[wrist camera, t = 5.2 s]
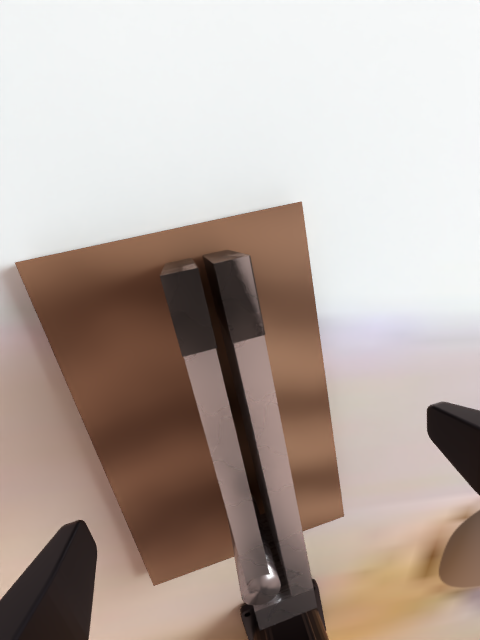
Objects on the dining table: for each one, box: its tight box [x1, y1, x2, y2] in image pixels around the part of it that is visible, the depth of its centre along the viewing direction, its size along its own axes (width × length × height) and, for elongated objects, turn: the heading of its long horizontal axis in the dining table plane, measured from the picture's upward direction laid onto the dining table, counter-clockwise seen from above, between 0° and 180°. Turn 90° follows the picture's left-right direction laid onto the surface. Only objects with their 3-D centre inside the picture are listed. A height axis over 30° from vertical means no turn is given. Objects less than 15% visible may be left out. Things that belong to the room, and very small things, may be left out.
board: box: [15, 201, 344, 586], centre depth 19 cm, size 22×14×1 cm, turn 12°
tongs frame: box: [202, 249, 317, 630], centre depth 15 cm, size 19×3×5 cm, turn 12°
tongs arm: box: [160, 258, 281, 606], centre depth 15 cm, size 17×2×5 cm, turn 11°
